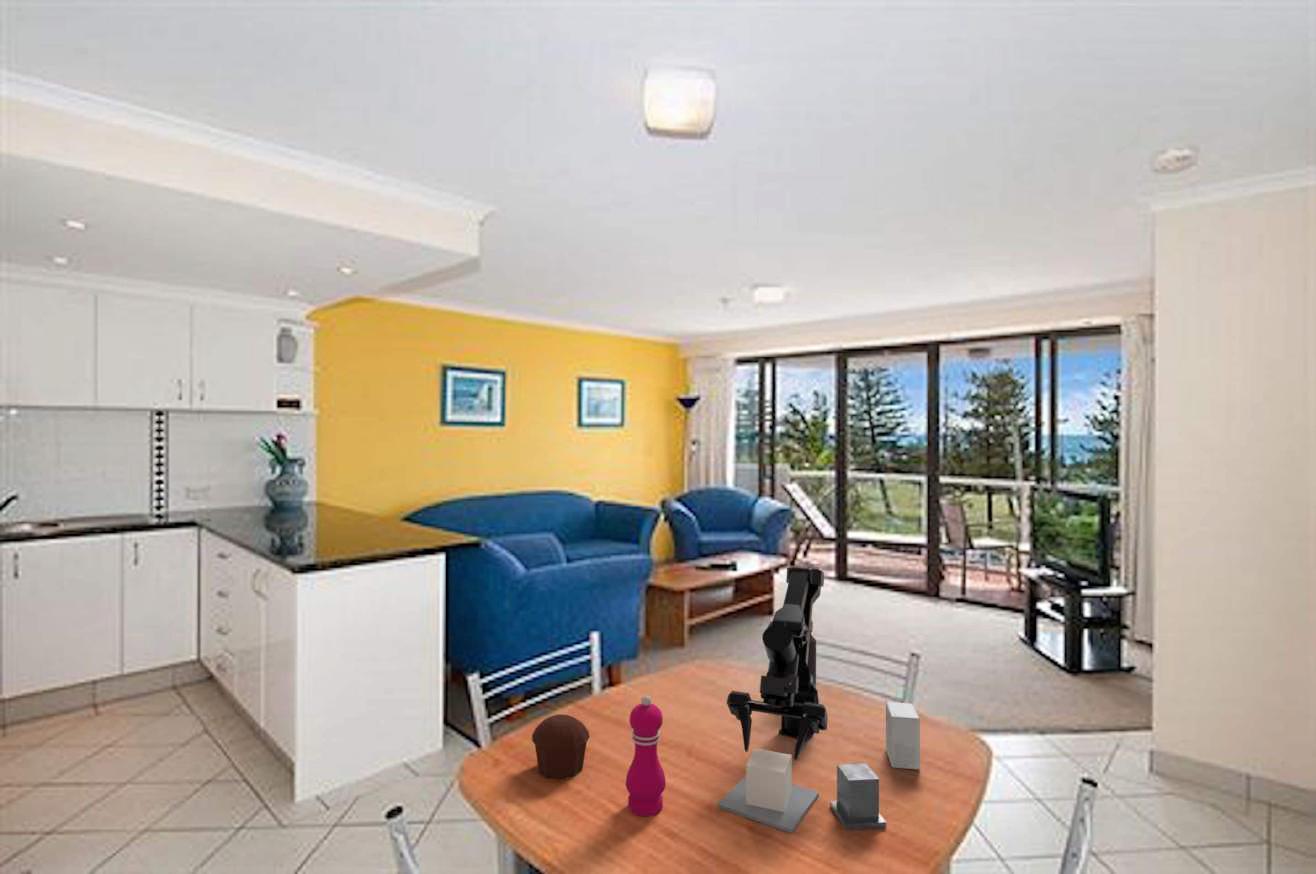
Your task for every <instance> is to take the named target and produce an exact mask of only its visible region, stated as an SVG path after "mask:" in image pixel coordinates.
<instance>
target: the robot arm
mask: <svg viewBox="0 0 1316 874" xmlns="http://www.w3.org/2000/svg"><path fill="white" fill-rule="evenodd" d="M785 582H786V584H787V587H786V592H785V596H784V600H783V605H782V607H781V608H779V609H777V610H776V611H775V612H774V615H773V617H772V621H770V622H769V624H768V626H767V627H766V629H764V631H763V633H762V643H763V645H764V649H765V652H766V656H767V658H768V660H769V662H768V666H767V672H766V674H765V675H760V682H759V684H760V685H759V694H760V699H762V701H760V700H759V701H758V700H754V699H753V700H752V698H751V695H750V693H749V692H743V691H738V690H737V691H736V690H732V691H730V692H729V694H728V695H727V700H726V705H727V706H728V707H727V708H728V710H729V712H730V714H731V715H733V716H735V718H736V720H738V721H739V722H740V725H741V729H742V730H741V732H742V739H743V746H744V751H745V752H746V753H747V752H748V751H749V748H750V742H751V732H752V723H753V722H752V721H753V719H752V717H751V715H752V714H753V712H756V713H763V714H770V715H775V716H781V721H780V722H781V726H780V727H781V728H780V729H778V734H779V735H784V736H788V737H790V738H791V737H792V738H794V739H796V742H795V743H796V744H795V748H794V755H793V756H794V757H793V759H794V761H795V762H797V761H798V760H799V758H800V756H801V754H802V752H803V751H804V748H806V745H807V743H809V741H810V739H811V738H812V737H813V736H814V735H815V734H820V731H827V730H828V719H829V718H828V712H827V708H826V707H825V705H824V704H822V703H820V698H819V690H818V689H817V685H816V686H815V683H813V676H812V674H811V672H810V670H809V668H808V654H809V642H810V630H811V620H813V619H812V617H813V608H814V604H815V603H816V601H817V600H818V599H819V597H820V596H821V592H822V588H823V587H824V585H825V573H824V571H823V570H820V567H819V566H808V565H806V566H805V565H795V564H794V565H792V566H789V567H787V568H786V579H785Z"/></svg>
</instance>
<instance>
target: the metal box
mask: <svg viewBox="0 0 1316 874" xmlns="http://www.w3.org/2000/svg"><path fill="white" fill-rule="evenodd" d="M829 807H830V809H831V810H832V812H833V813H834V815H835V816H836V817H837V819H838V821H839V823H840V824H841V825H842V827H843V828H844V829H845V830H844V831H858V830H859V831H860V830H861V831H862V830H875V829H886V828H887V821H886V820H885V819H884V818H883V816H882V815H881V814H880V778H879V776H878V775H876V773H875V772H874V771H873V770H872V769H871V767H869V765H868V764H867V762H866V763H864V762H863V763H850V764H849V763H848V764H847V763H845V764H842V763H841V764H836V800H830V801H829Z"/></svg>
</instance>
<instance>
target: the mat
mask: <svg viewBox="0 0 1316 874" xmlns="http://www.w3.org/2000/svg"><path fill="white" fill-rule="evenodd" d="M819 796H820V793H819V791H815V790H812V789H809V788H806V787H802V786H799V785H796V784H793V783H792V785H791V795H790V798H789V801H788V804H787V807H786V810H785V812H781V811H776V810H771V809H767V808H762V807H757V806H753V805H748V804H746V775H745V776H744V777H743V778H742V779H741V780H740V781H739V782H738V783H737V784H736V785H735V786H734V787H733V788H732V789H731V790H730V791H729V792H728V793H727V794H726V795H725V796H724V797H723V798H722V799H721V800H720V801H719V802H718V803H717V808H718V809H722V810H724V811H727V812H729V813H731V814H732V813H733V814H735V815H737V816H740V817H744V818H747V819H748V820H749V819H750V820H751V821H754V822H758V823H760V824H763V825H766V826H769V827H772V828H775V829H778V830H781V831H783V832H786V833H789V834H792V833H793V831H795V830H796V829H797V826H798V825H799V824H800V822H801V821H802V820H803V818H804V817H805V815H806V814H807V812H808V811H809V810H810V808H812V806H813V804H814V802H816V800H817V799H818V798H819Z"/></svg>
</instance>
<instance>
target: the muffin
mask: <svg viewBox="0 0 1316 874" xmlns="http://www.w3.org/2000/svg"><path fill="white" fill-rule="evenodd" d="M590 737H591V736H590V732H589V730H588V729H587V727H586V725H585V724H584V722H582V721H580V719H578V718H577V717H574V716H572V715H569V714H555V715H551V716H549V717H547V718H544V719H543V720H542V721H541V722H540V723H539V724H538V725H537V726H536V727H535V730H534V731H533V732H532V734H531V740H532V743H533V744H534V748H535V755H536V761H537V767H538V774H540V775H542V776H544V777H545V778H546V779H552V780H553V779H554V780H559V781H561V780H565V779H569V778H574V777H576V776H577V775H578V774H579V773H581V772H582V771H583V767H584V760H585V754H586V748H587V742H588V740H589V739H590Z"/></svg>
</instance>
